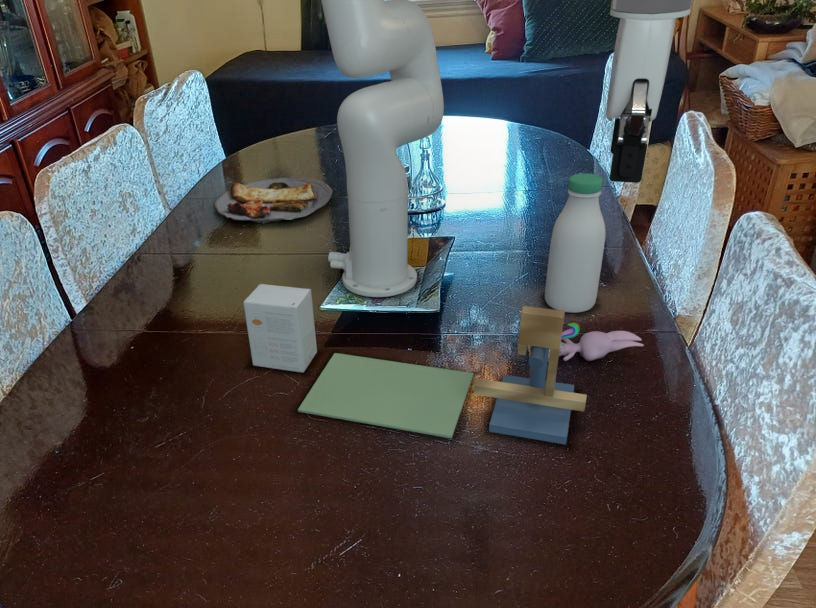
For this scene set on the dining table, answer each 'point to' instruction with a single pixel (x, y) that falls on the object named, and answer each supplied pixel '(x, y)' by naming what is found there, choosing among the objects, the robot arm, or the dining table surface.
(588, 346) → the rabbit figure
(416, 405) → the mat
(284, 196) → the food plate
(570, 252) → the milk bottle
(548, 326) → the hanger
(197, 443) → the dining table surface
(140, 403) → the dining table surface
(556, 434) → the rail stand
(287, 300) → the small box
